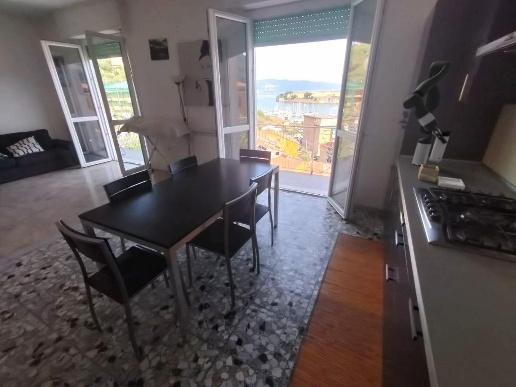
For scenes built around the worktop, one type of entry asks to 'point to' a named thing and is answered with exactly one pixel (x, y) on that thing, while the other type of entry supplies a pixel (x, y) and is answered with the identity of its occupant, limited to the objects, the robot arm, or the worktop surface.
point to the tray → (450, 183)
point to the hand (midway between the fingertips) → (444, 142)
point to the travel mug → (439, 147)
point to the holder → (428, 173)
